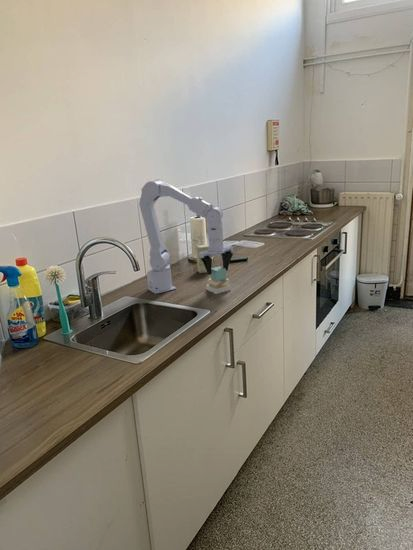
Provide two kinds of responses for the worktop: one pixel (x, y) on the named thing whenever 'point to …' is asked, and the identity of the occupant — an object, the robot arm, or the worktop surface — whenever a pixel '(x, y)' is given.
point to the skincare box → (199, 262)
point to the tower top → (218, 283)
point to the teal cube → (218, 273)
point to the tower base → (218, 289)
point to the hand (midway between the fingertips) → (217, 272)
